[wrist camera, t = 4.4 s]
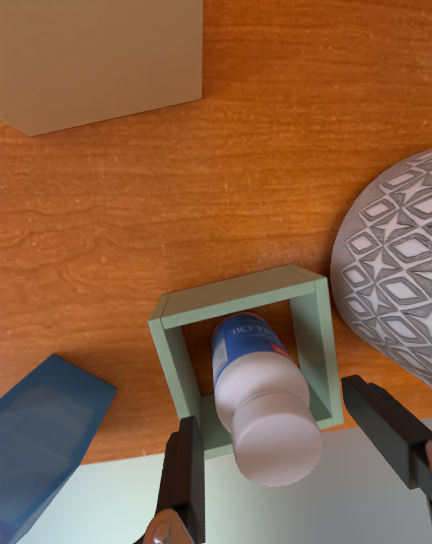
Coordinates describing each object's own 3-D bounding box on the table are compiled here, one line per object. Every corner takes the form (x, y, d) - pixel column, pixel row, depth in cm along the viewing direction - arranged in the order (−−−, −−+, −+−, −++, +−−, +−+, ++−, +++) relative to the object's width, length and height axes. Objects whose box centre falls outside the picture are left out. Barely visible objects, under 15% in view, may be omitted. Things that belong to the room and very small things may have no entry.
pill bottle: (279, 317, 19) (362, 412, 9) (260, 370, 20) (318, 506, 10) (219, 303, 18) (240, 390, 8) (203, 359, 19) (206, 493, 9)
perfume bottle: (117, 389, 19) (-17, 654, 7) (81, 437, 20) (-95, 749, 8) (52, 353, 18) (-235, 600, 6) (16, 406, 18) (-301, 716, 7)
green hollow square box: (194, 405, 20) (193, 463, 15) (161, 294, 17) (146, 321, 13) (309, 376, 20) (344, 423, 15) (292, 263, 18) (327, 277, 13)
